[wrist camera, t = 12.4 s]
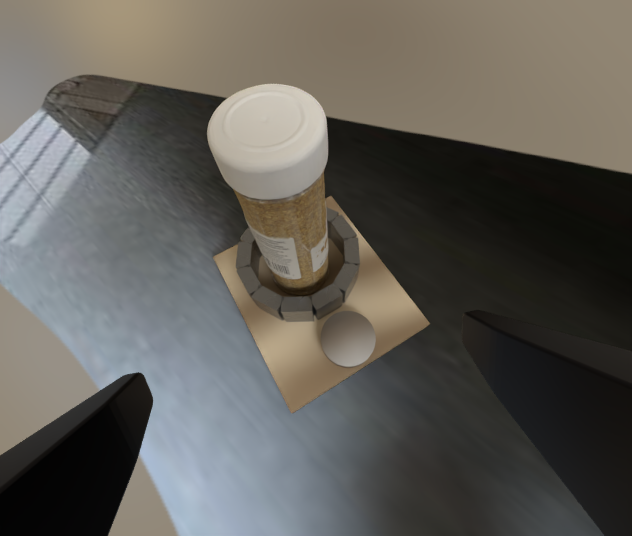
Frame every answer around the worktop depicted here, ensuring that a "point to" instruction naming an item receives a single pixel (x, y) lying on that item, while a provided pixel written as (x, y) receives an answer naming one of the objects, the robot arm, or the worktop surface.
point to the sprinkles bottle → (278, 177)
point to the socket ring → (307, 305)
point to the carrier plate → (327, 324)
